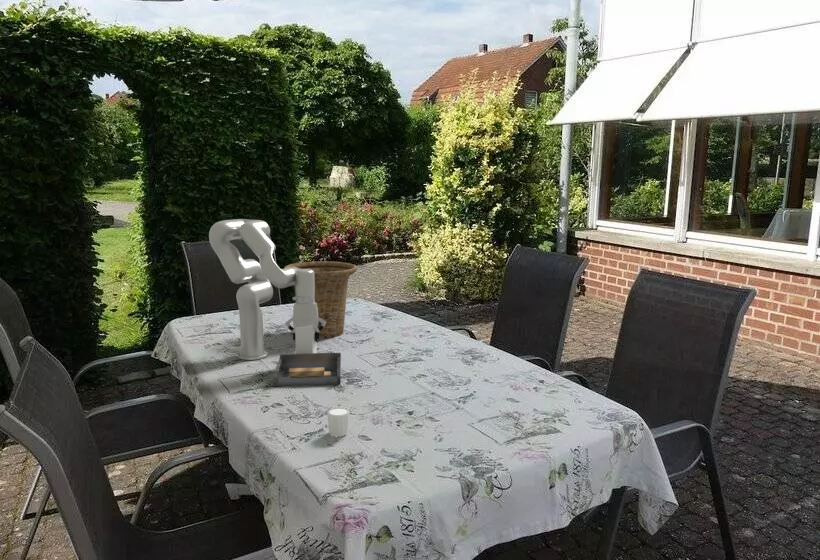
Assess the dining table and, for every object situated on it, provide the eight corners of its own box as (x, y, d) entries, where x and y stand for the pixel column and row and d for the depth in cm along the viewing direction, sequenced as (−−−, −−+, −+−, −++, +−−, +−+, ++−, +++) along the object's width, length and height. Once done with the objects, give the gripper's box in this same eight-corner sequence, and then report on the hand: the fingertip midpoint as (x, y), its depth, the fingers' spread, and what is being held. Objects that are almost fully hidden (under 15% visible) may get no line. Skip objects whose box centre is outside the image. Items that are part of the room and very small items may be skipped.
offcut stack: (287, 385, 233) (286, 371, 232) (288, 381, 237) (288, 367, 237) (330, 384, 234) (330, 370, 233) (330, 380, 239) (330, 366, 238)
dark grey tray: (275, 386, 231) (274, 368, 230) (280, 370, 249) (280, 353, 248) (340, 384, 234) (340, 366, 232) (340, 369, 251) (340, 352, 250)
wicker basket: (371, 330, 312) (371, 265, 307) (326, 346, 283) (325, 274, 278) (318, 321, 331) (316, 259, 325) (270, 335, 302) (268, 267, 296)
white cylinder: (328, 428, 194) (327, 407, 192) (350, 428, 194) (350, 407, 193) (326, 438, 187) (326, 416, 186) (349, 437, 187) (349, 415, 186)
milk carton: (313, 364, 254) (312, 318, 250) (296, 363, 254) (294, 318, 251) (317, 358, 261) (316, 314, 257) (300, 358, 261) (299, 314, 258)
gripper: (282, 301, 249) (283, 344, 252) (326, 301, 250) (327, 343, 253) (284, 297, 256) (285, 339, 259) (327, 297, 258) (327, 338, 261)
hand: (306, 341), depth 256 cm, fingers closed on milk carton, 8 cm apart
